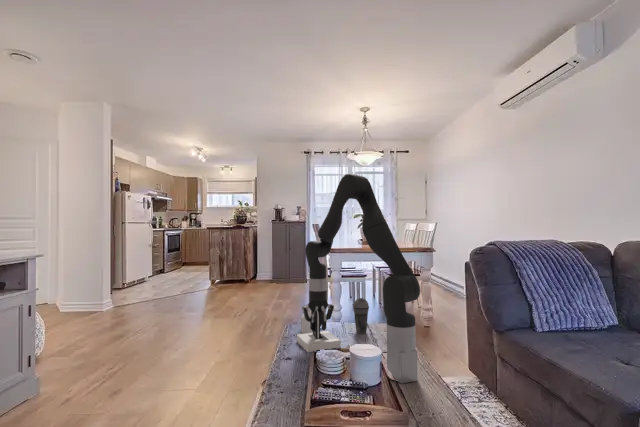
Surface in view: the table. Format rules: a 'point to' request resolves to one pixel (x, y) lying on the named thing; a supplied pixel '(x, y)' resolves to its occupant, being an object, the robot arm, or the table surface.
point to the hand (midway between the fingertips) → (318, 330)
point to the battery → (318, 323)
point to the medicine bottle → (305, 323)
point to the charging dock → (318, 341)
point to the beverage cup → (361, 314)
